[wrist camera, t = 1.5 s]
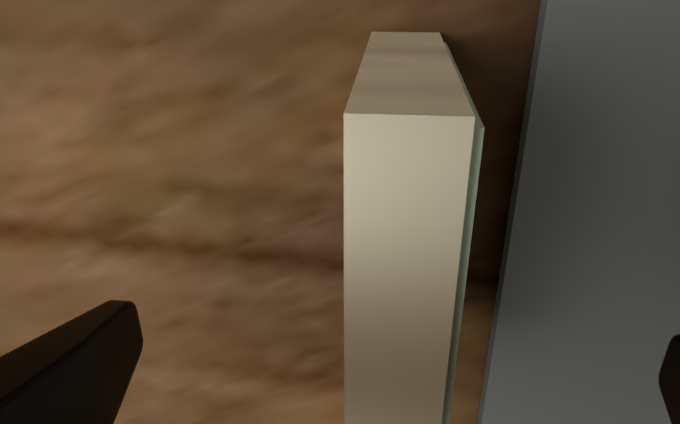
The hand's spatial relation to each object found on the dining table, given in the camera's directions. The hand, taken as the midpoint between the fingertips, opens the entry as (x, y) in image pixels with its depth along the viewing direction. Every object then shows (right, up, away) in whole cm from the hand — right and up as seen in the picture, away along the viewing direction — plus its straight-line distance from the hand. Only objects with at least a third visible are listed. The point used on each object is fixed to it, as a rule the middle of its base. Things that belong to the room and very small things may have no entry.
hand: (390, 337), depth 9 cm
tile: (+1, +3, +6) cm, 6 cm away
